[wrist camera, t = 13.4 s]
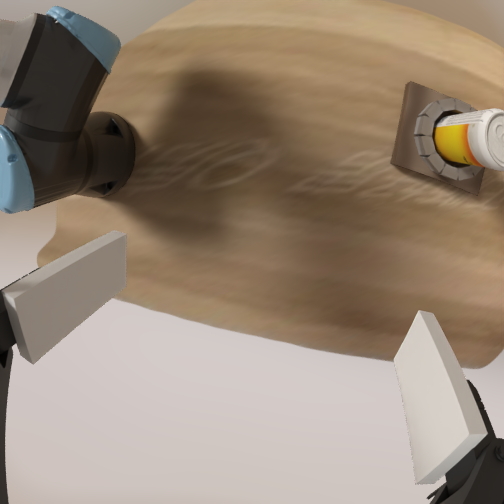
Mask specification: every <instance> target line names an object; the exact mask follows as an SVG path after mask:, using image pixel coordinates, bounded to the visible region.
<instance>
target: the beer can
mask: <svg viewBox="0 0 504 504" xmlns="http://www.w3.org/2000/svg"><path fill="white" fill-rule="evenodd" d="M432 139H433V142H434V146H435V150H436V152H437V153H438V154H439V155H440V156H441V157H442V158H444V159H446V160H448V161H453V162H459V163H465V164H470V165H475V166H480V167H485V168H490V169H494V170H499V171H504V111H503V110H501V109H496V108H494V109H487V110H481V111H474V112H468V113H463V114H457V115H451V116H446V117H442V118H440V119H439V120H437V121H436V123H435V124H434V127H433V132H432Z"/></svg>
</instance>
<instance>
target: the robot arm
mask: <svg viewBox="0 0 504 504" xmlns="http://www.w3.org/2000/svg"><path fill="white" fill-rule="evenodd" d="M120 48H121V43H120V40H119V38H118V37H117V36H116V35H115V34H113V33H112V32H111V31H109V30H107V29H106V28H104V27H102V26H101V25H99V24H97V23H95V22H93V21H92V20H89V19H87V18H86V17H83V16H81V15H79V14H75V13H74V12H71V11H69V10H68V9H65V8H62V7H59V6H54V7H52V8H51V9H50V10H49V11H47V14H46V15H42V14H38V13H32V14H31V15H29V16H27V17H25V18H23V19H22V20H20V21H17V22H13V21H8V20H2V19H0V107H3V108H8V110H7V113H6V117H5V120H4V124H3V125H0V210H1V211H3V212H5V213H9V214H12V213H16V212H20V211H24V210H25V211H29V210H31V209H32V208H35V207H38V206H41V205H43V204H46V203H50V202H52V201H55V200H58V199H61V198H64V197H67V196H70V195H74V194H76V195H82V196H87V197H93V198H98V197H104V196H107V195H110V194H113V193H115V192H116V191H118V190H119V189H120V188H121V187H122V186H123V185H124V184H125V183H126V181H127V180H128V178H129V176H130V174H131V171H132V168H133V165H134V159H135V144H134V139H133V135H132V132H131V130H130V128H129V126H128V125H127V123H126V122H125V121H124V120H123V119H122V118H121V117H120V116H118V115H116V114H114V113H111V112H93V113H90V112H91V109H92V107H93V105H94V103H95V101H96V99H97V96H98V94H99V92H100V90H101V88H102V86H103V84H104V82H105V80H106V78H107V76H108V74H110V73H111V68H112V66H113V63H114V61H115V59H116V57H117V55H118V53H119V51H120ZM126 247H127V234H126V233H122V232H119V231H115V230H113V231H111V232H109V233H107V234H105V235H103V236H101V237H99V238H97V239H95V240H93V241H91V242H89V243H87V244H85V245H83V246H81V247H79V248H77V249H75V250H73V251H71V252H69V253H67V254H66V255H64V256H62V257H60V258H58V259H56V260H54V261H52V262H51V263H49V264H47V265H45V266H43V267H40V268H38V269H36V270H34V271H32V272H31V273H29V275H25V276H23V277H22V279H18V280H16V281H15V282H13V283H11V284H10V285H8V286H6V287H5V288H3V289H1V290H0V504H9V503H8V494H7V484H6V467H5V423H6V408H7V396H8V387H9V379H10V371H11V365H12V359H13V350H12V346H13V345H14V344H16V343H17V346H18V349H19V352H20V355H21V356H22V357H24V358H25V359H26V360H27V361H29V362H30V363H32V364H34V363H36V362H37V361H38V360H39V359H40V358H41V357H42V356H43V355H45V354H46V353H47V352H48V351H49V350H50V349H52V348H53V347H54V346H55V345H56V344H57V343H58V342H60V341H61V340H62V339H63V338H64V337H66V336H67V335H68V334H69V333H70V332H71V331H72V330H74V329H75V328H76V327H77V326H78V325H80V324H81V323H82V322H83V321H85V320H86V319H87V318H88V317H89V316H91V315H92V314H93V313H94V312H95V311H97V310H98V309H99V308H100V307H102V306H103V305H104V304H105V303H106V302H108V301H109V300H110V299H111V298H113V297H114V296H115V295H116V294H118V293H119V292H120V291H121V290H123V289H124V288H125V287H126ZM394 365H395V369H396V373H397V377H398V382H399V386H400V391H401V396H402V401H403V406H404V410H405V416H406V421H407V427H408V433H409V439H410V446H411V452H412V460H413V468H414V476H415V484H434V483H435V482H436V481H437V480H439V479H440V478H441V477H442V476H444V475H445V476H446V481H447V482H446V483H444V484H443V485H442V486H441V487H439V488H438V489H437V490H435V491H434V492H433V493H431V494H430V495H429V496H428V497H427V499H430V498H431V497H433V496H434V495H435V497H434V498H433V500H432V501H431V503H430V504H504V439H502V438H496V436H495V433H494V430H493V428H492V425H491V422H490V420H489V417H488V415H487V412H486V410H484V405H483V403H482V402H481V398H480V396H479V394H478V391H477V389H476V388H475V387H474V386H473V384H472V383H471V382H470V381H469V380H466V378H465V376H464V374H463V372H462V369H461V367H460V365H459V363H458V361H457V359H456V357H455V354H454V352H453V350H452V348H451V346H450V344H449V342H448V340H447V338H446V336H445V335H444V333H443V331H442V329H441V327H440V325H439V323H438V321H437V319H436V318H435V316H434V314H433V313H430V312H425V311H421V310H419V311H418V313H417V315H416V317H415V319H414V321H413V323H412V325H411V327H410V329H409V331H408V333H407V335H406V337H405V339H404V341H403V343H402V345H401V347H400V349H399V350H398V352H397V354H396V356H395V358H394Z"/></svg>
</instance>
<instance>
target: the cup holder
mask: <svg viewBox="0 0 504 504" xmlns="http://www.w3.org/2000/svg"><path fill="white" fill-rule="evenodd" d="M474 111H478V110H476V109H474V108H473V107H471V105H469V104H467V103H465V102H463V101H461V100H458V99H456V98H455V99H454V98H451V97H449V96H446V95H444V94H442V93H439V92H437V91H435V90H432V89H430V88H427V87H425V86H422V85H419V84H417V83H414V82H411V81H410V82H409V83H407V84H406V86H405V92H404V98H403V104H402V110H401V116H400V121H399V126H398V131H397V136H396V141H395V146H394V150H393V155H392V159H391V164H394V165H398V166H401V167H404V168H407V169H409V170H412V171H415V172H418V173H421V174H424V175H426V176H429V177H432V178H435V179H437V180H440V181H442V182H445V183H448V184H450V185H453V186H455V187H458V188H460V189H462V190H465V191H467V192H470V193H472V194H475V195H477V196H478V194H479V190H480V186H481V182H482V177H483V173H484V169H485V167H480V166H475V165H470V164H465V163H459V162H453V161H448V160H446V159H444V158H442V157H441V156H440V155H439V154H438V153H437V152H436V150H435V146H434V142H433V139H432V132H433V127H434V124H435V123H436V121H437V120H439V119H440V118H442V117H446V116H451V115H457V114H463V113H468V112H474Z"/></svg>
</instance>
